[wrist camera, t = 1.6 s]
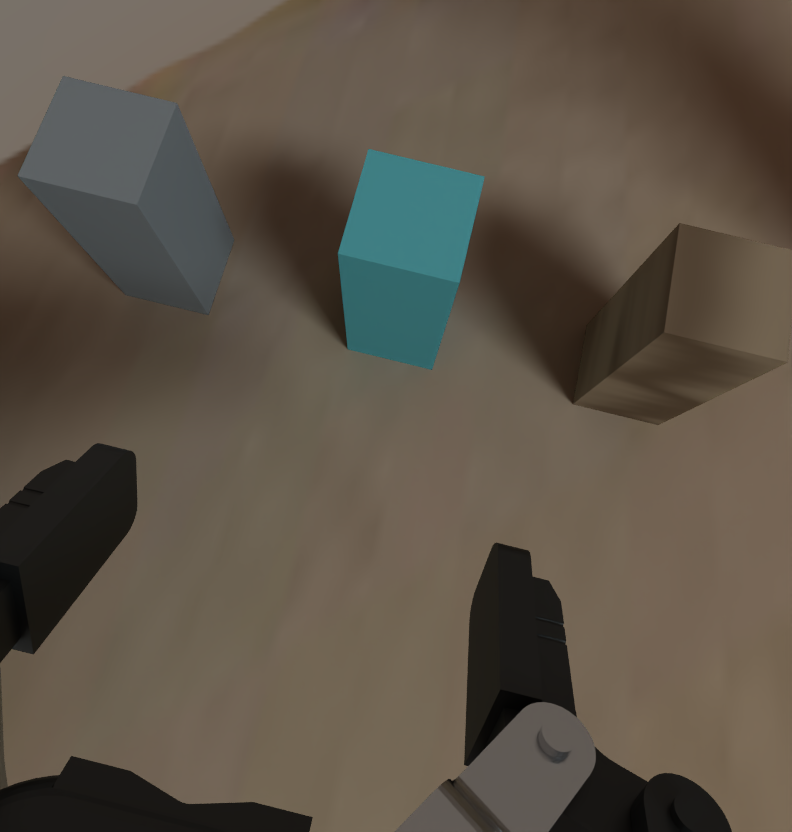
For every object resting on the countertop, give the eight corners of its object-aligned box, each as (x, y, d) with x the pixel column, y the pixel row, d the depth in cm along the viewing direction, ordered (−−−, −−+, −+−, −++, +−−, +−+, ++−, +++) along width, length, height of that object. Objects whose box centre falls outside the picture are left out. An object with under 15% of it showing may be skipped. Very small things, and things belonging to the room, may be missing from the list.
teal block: (450, 292, 33) (484, 176, 23) (431, 369, 31) (459, 283, 22) (369, 272, 33) (368, 148, 23) (347, 349, 32) (337, 253, 22)
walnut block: (669, 345, 32) (797, 251, 23) (658, 424, 31) (787, 362, 22) (586, 325, 32) (679, 223, 23) (572, 404, 31) (664, 332, 22)
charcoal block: (234, 239, 33) (177, 103, 23) (208, 315, 32) (137, 204, 22) (153, 220, 33) (63, 75, 23) (125, 294, 32) (17, 176, 22)
